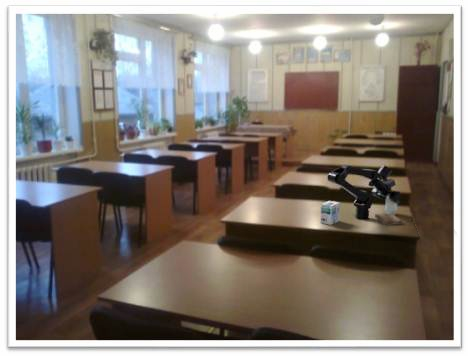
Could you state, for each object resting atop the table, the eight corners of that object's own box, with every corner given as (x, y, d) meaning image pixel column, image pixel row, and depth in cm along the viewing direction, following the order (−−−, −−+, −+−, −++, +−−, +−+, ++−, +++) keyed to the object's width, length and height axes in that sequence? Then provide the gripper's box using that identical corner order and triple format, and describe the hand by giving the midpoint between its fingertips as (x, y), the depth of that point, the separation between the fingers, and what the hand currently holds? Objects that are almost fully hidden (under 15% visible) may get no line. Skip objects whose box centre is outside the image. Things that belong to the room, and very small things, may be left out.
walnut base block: (383, 224, 237) (383, 220, 237) (374, 217, 251) (375, 213, 251) (401, 224, 237) (401, 220, 237) (392, 217, 251) (392, 213, 251)
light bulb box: (331, 225, 236) (332, 206, 234) (319, 223, 240) (320, 204, 238) (339, 220, 244) (340, 202, 242) (328, 218, 248) (329, 200, 246)
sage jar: (387, 215, 256) (388, 198, 254) (383, 212, 262) (384, 195, 260) (397, 215, 256) (399, 198, 254) (393, 212, 262) (395, 195, 260)
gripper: (400, 177, 244) (413, 195, 251) (376, 172, 261) (389, 188, 268) (388, 192, 243) (401, 209, 249) (365, 186, 259) (378, 202, 266)
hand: (392, 202), depth 258 cm, fingers open, 9 cm apart
